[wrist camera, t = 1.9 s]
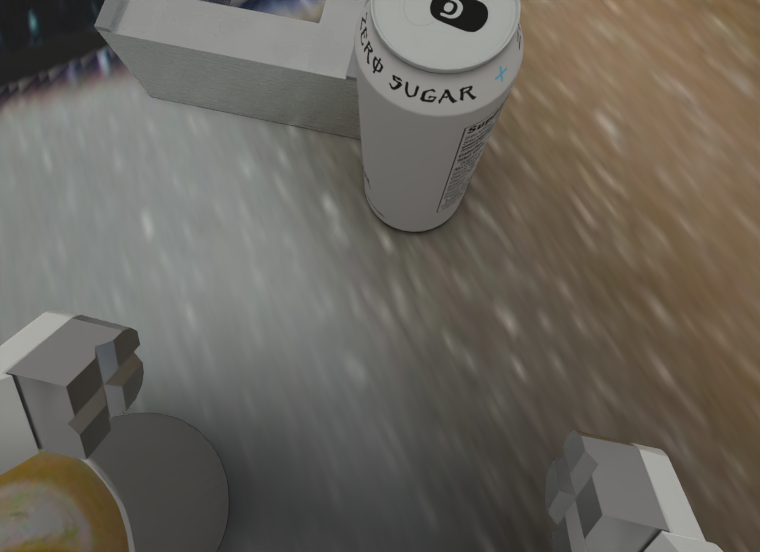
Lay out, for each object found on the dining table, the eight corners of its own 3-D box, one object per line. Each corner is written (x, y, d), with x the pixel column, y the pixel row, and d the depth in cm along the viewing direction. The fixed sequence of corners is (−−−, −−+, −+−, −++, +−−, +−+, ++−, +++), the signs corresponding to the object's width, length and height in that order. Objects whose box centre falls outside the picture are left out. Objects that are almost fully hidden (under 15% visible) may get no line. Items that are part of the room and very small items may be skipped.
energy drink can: (388, 133, 31) (397, -97, 16) (474, 169, 30) (566, -36, 15) (349, 213, 29) (319, 43, 15) (438, 252, 29) (499, 115, 14)
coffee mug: (260, 546, 25) (184, 650, 15) (84, 651, 24) (-117, 835, 14) (160, 328, 28) (41, 298, 18) (-3, 414, 27) (-223, 432, 17)
